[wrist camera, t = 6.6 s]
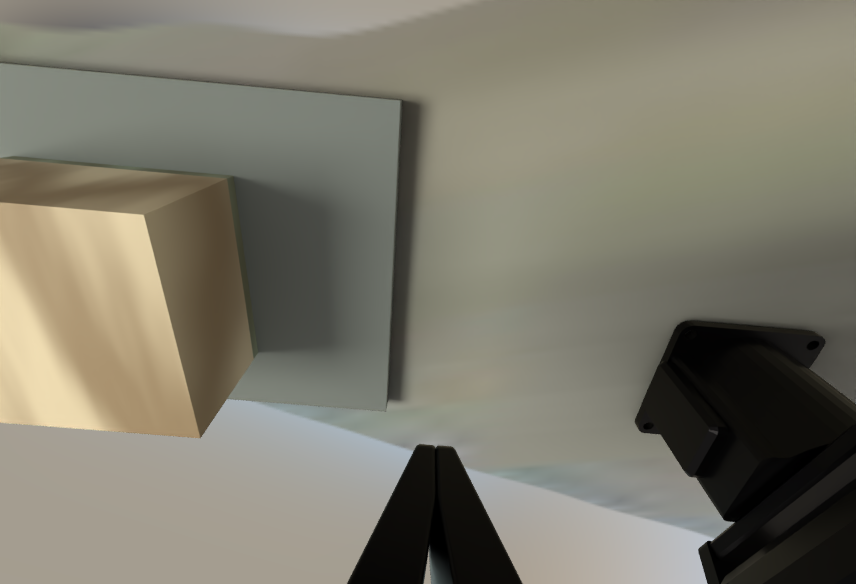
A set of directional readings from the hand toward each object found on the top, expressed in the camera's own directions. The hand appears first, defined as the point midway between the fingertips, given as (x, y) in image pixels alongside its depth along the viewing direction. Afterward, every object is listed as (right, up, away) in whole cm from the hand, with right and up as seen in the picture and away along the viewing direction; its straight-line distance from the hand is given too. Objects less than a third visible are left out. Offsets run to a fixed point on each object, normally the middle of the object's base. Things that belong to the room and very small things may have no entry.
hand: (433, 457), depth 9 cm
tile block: (-8, +3, +5) cm, 10 cm away
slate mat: (-10, +5, +8) cm, 14 cm away
